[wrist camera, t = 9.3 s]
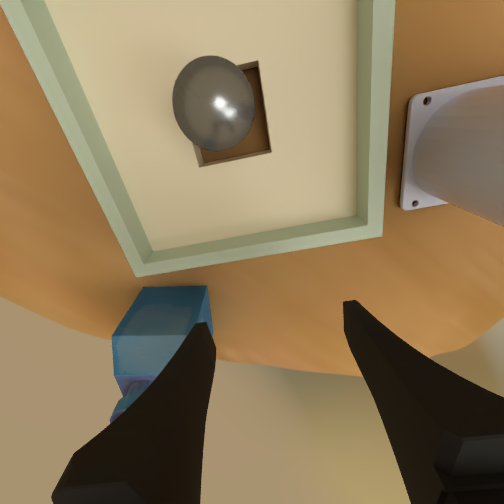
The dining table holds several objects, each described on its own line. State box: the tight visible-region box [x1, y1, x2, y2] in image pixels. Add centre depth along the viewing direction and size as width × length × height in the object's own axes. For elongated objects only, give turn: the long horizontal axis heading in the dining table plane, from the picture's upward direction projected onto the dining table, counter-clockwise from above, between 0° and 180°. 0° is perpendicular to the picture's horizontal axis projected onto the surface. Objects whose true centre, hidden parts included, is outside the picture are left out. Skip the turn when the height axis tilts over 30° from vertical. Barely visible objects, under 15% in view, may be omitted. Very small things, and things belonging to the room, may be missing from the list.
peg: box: [172, 55, 255, 151], centre depth 14 cm, size 4×4×7 cm
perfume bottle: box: [110, 286, 213, 423], centre depth 20 cm, size 6×6×12 cm
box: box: [0, 0, 395, 278], centre depth 16 cm, size 18×18×4 cm
